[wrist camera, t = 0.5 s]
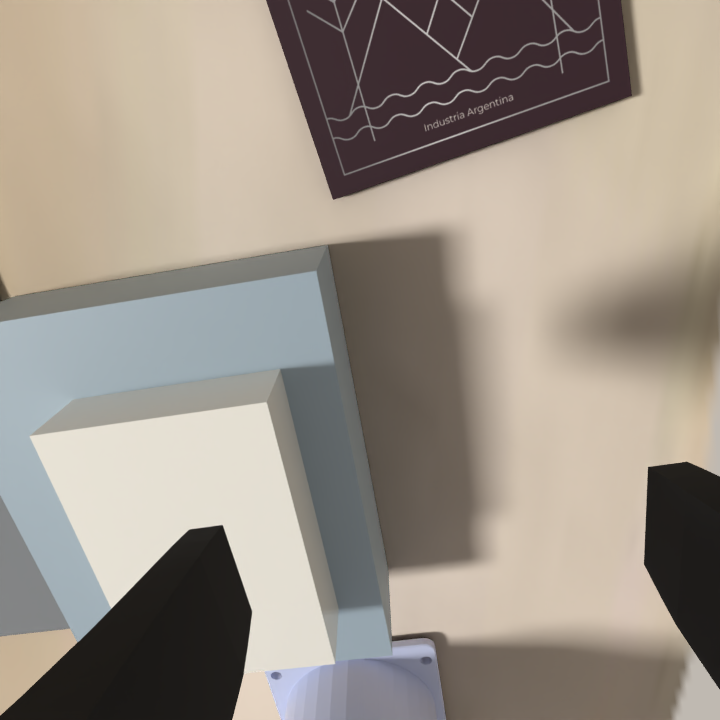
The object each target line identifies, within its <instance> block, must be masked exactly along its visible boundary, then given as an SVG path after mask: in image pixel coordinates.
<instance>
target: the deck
mask: <svg viewBox="0 0 720 720" xmlns="http://www.w3.org/2000/svg"><path fill="white" fill-rule="evenodd" d="M277 369H280V370H281V374H282V378H283V382H284V386H285V390H286V394H287V398H288V403H289V407H290V411H291V415H292V419H293V423H294V427H295V431H296V435H297V439H298V444H299V448H300V452H301V456H302V460H303V464H304V468H305V472H306V476H307V481H308V485H309V489H310V493H311V497H312V501H313V505H314V509H315V513H316V517H317V522H318V526H319V530H320V534H321V538H322V542H323V546H324V550H325V554H326V558H327V563H328V567H329V571H330V575H331V579H332V583H333V587H334V591H335V595H336V600H337V604H338V608H339V613H338V629H337V645H336V661H344V660H353V659H363V658H373V657H383V656H392V655H393V654H392V634H391V614H390V594H389V574H388V566H387V560H386V555H385V549H384V544H383V539H382V533H381V528H380V523H379V517H378V512H377V506H376V501H375V496H374V490H373V485H372V480H371V474H370V469H369V463H368V458H367V453H366V447H365V442H364V437H363V431H362V426H361V420H360V415H359V410H358V404H357V399H356V394H355V388H354V383H353V377H352V372H351V367H350V361H349V356H348V351H347V345H346V340H345V335H344V329H343V324H342V318H341V313H340V308H339V302H338V297H337V292H336V286H335V281H334V275H333V270H332V265H331V259H330V254H329V249H328V245H324V246H318V247H312V248H306V249H300V250H293V251H287V252H281V253H275V254H269V255H263V256H257V257H251V258H245V259H239V260H233V261H227V262H221V263H215V264H209V265H203V266H197V267H191V268H184V269H178V270H172V271H166V272H160V273H154V274H148V275H142V276H136V277H130V278H124V279H118V280H112V281H106V282H100V283H94V284H88V285H81V286H75V287H69V288H63V289H57V290H51V291H45V292H39V293H33V294H27V295H21V296H15V297H11V298H9V299H6V300H4V301H1V302H0V496H1V498H2V499H3V501H4V503H5V505H6V507H7V509H8V511H9V513H10V515H11V517H12V518H13V520H14V522H15V524H16V526H17V528H18V530H19V532H20V534H21V536H22V537H23V539H24V541H25V543H26V545H27V547H28V549H29V551H30V553H31V555H32V557H33V558H34V560H35V562H36V564H37V566H38V568H39V570H40V572H41V574H42V576H43V577H44V579H45V581H46V583H47V585H48V587H49V589H50V591H51V593H52V595H53V596H54V598H55V600H56V602H57V604H58V606H59V608H60V610H61V612H62V614H63V615H64V617H65V619H66V621H67V623H68V625H69V627H70V629H71V631H72V633H73V634H74V636H75V638H76V640H77V642H79V641H80V640H81V639H82V638H83V637H84V636H85V635H86V634H87V633H88V632H89V631H90V630H91V629H92V628H93V627H94V626H95V625H96V624H97V623H98V622H99V621H100V620H101V619H102V618H103V617H104V616H105V615H106V614H107V613H108V612H109V611H110V610H111V607H110V605H109V603H108V601H107V599H106V597H105V595H104V593H103V590H102V588H101V586H100V584H99V582H98V580H97V578H96V576H95V574H94V571H93V569H92V567H91V565H90V563H89V561H88V559H87V557H86V555H85V552H84V550H83V548H82V546H81V544H80V542H79V540H78V538H77V536H76V533H75V531H74V529H73V527H72V525H71V523H70V521H69V519H68V517H67V514H66V512H65V510H64V508H63V506H62V504H61V502H60V500H59V498H58V496H57V493H56V491H55V489H54V487H53V485H52V483H51V481H50V479H49V477H48V474H47V472H46V470H45V468H44V466H43V464H42V462H41V460H40V458H39V455H38V453H37V451H36V449H35V447H34V445H33V443H32V441H31V439H30V435H31V434H32V433H34V432H35V431H36V430H37V429H38V428H40V427H41V426H42V425H43V424H44V423H46V422H47V421H48V420H49V419H51V418H52V417H53V416H54V415H55V414H57V413H58V412H59V411H60V410H61V409H63V408H64V407H65V406H66V405H67V404H69V403H70V402H71V401H72V400H73V399H80V398H87V397H93V396H100V395H107V394H114V393H121V392H127V391H134V390H141V389H148V388H154V387H161V386H168V385H175V384H182V383H188V382H195V381H202V380H209V379H216V378H222V377H229V376H236V375H243V374H249V373H256V372H263V371H270V370H277Z"/></svg>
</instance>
